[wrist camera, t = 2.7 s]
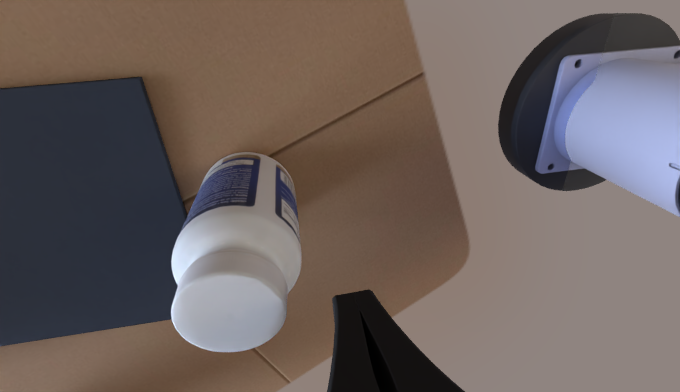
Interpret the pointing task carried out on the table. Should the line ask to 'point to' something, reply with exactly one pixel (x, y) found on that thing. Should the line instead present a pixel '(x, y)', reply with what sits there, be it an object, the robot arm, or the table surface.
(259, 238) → the pill bottle
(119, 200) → the mat
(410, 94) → the table surface
